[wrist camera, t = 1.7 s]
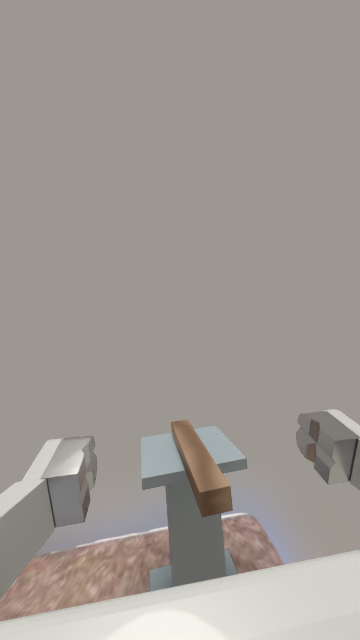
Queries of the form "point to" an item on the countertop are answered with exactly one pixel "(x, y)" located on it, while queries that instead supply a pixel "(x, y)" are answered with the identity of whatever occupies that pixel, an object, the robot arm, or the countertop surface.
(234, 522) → the countertop surface
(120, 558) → the countertop surface
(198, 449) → the block
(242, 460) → the stand
